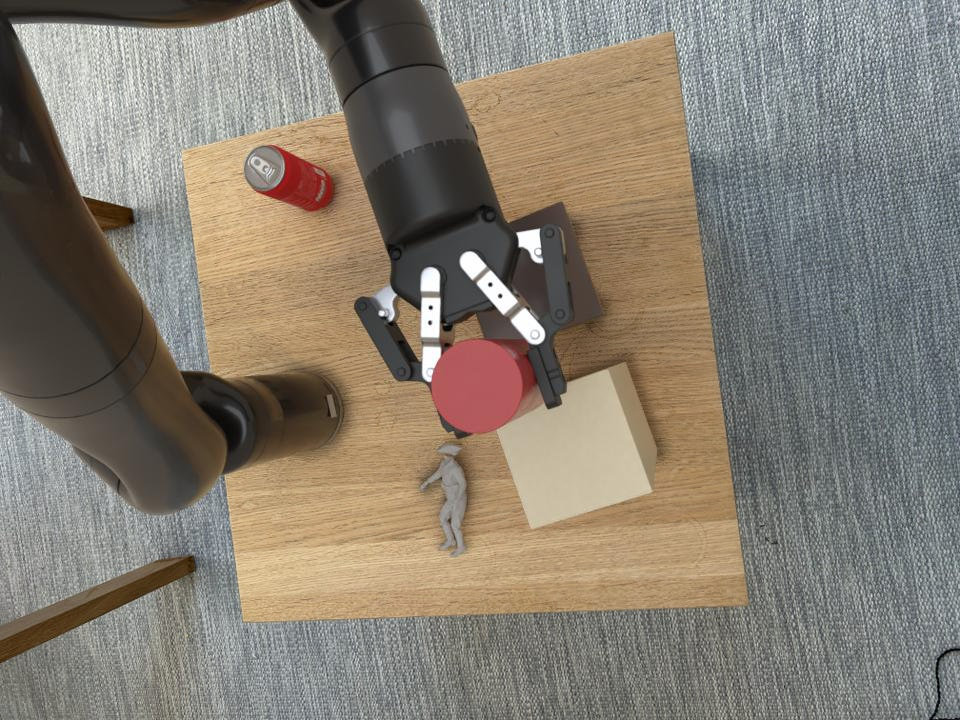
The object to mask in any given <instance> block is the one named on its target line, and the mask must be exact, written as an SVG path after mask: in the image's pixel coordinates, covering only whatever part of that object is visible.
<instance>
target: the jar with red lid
mask: <svg viewBox="0 0 960 720" xmlns="http://www.w3.org/2000/svg"><path fill="white" fill-rule="evenodd" d="M528 350H530V348H529V345H528V342H527V340H525V339H484V338H470V339H469V338H468V339H465V340H461V341H459V342H457V343H455V344H453V346H451V347H450V348H449V349H447V350H446V351H445V352H444V353H443V354H442V355H441V357H440V358H439V360H438V361H437V363H436V365H435V367H434V370H433V374H432V378H431V392H430V394H431V393H432V395H431V398H432V401H433V404H434V406H435V409H436V408H437V409H436V411H437V410H438V412H439V413H440V415H441V416H442V417H443V418H444V419H445V420H446V421H447V422H448V423H449V424H450V425H452V426H453V427H455V428H457V429H459V430H461V431H464V432H467V433H474V434H477V435H478V434H481V435H482V434H487V433H491V432H494V431H496V429H499V428H500V427H502V426H504V425H506V424H508V423H510V422H512V421H514V420H516V419H518V418H520V417H521V416H523V415H525V414H527V413H529V412H531V411H533V410H535V409H537V408H538V407H540V406H541V405H542V404H543V403H544V400H543V397H542V394H541V392H540V389H539V386H538V383H537V380H536V377H535V374H534V371H533V368H532V365H531V363H530V360H529V357H528V355H527V352H526V351H528ZM438 412H437V413H438ZM474 434H473V435H474Z"/></svg>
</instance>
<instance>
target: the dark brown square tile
mask: <svg viewBox="0 0 960 720" xmlns="http://www.w3.org/2000/svg"><path fill="white" fill-rule="evenodd" d="M507 223H508V224H509V225H510V226H511V227H512V228H513V229H515V230H516V231H517V232H522V231H528V230H534V229H540V228H541V227H542V226H543V225H544V224H546V223H554V224H556V225H557V226H558V227H559V228H560V229H561V230H562V231H563V232H564V234H565V239H566V247H567V254H568V262H569V269H570V277H571V285H572V292H573V300H574V308H575V319H574V321H573V322H572V323H571V324H569V325H567V326H566V327H564V328H563V329H562V330H561V331H560V332H559V333H563V332H564V331H567V330H570V329H573V328H576V327H578V326H581V325H583V324H586V323H589V322H592V321H595V320H597V319H600V318H603V317H605V316H606V315H605V312H604V309H603V306H602V304H601V300H600V298H599V296H598V292H597V290H596V288H595V287H596V286H595V284H594V281H593V279H592V276H591V273H590V270H589V268H588V265H587V263H586V259H585V257H584V254H583V251H582V249H581V246H580V243H579V240H578V238H577V235H576V231H575V230H574V227H573V223H572V221H571V218H570V214H569V212H568V210H567V207H566V205H565V203H564V202H563V201H562V200H561V201H557V202H556V203H553V204H550V205H548V206H546V207H543V208H541V209H538V210H536V211H534V212H531V213H529V214H526V215H524V216H522V217H518V218H516V219H514V220H512V221H509V222H507ZM512 285H513V287H514V288H515V289H516V290H517V291H518V292H519V293H520V295H521V296H522V297H523V298H524V299H525V300H526V301H527V303H528V304H529V305H530V307H531V308H532V309H533V311H534V312H535V313H536V314H537V315H538V316H539V318H541V317H542V316H544V315H545V314H546V313H547V312H548V311H549V304H548V297H547V289H546V281H545V274H544V266H543V265H540V264H538V263H536V262H534V261H533V260H532V258H531V255H530V253H529V251H528V250H527V249H521V253H520V256H519V260H518V263H517V267H516V270H515V274H514V277H513V281H512ZM475 316H476V318H477V322H478V324H479V328H480V330H481V333H482V336H483V339H525V338H524V337H523V336H522V334H521V333H520V332H519V331H518V330H517V329H516V328H515V326H514V325H513V324H512V323H511V322H510V321H509V320H508V319H507V318H506V317H505V316H504V315H503V314H502V313H501V312H500V311H499V310H498V309H496V310H493V311H490V312H483V313H476V314H475ZM525 340H526V339H525Z"/></svg>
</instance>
